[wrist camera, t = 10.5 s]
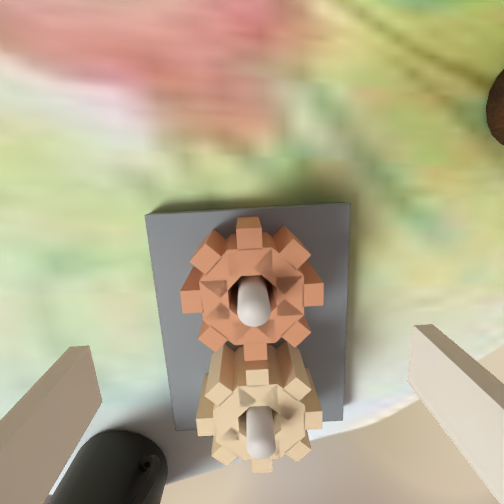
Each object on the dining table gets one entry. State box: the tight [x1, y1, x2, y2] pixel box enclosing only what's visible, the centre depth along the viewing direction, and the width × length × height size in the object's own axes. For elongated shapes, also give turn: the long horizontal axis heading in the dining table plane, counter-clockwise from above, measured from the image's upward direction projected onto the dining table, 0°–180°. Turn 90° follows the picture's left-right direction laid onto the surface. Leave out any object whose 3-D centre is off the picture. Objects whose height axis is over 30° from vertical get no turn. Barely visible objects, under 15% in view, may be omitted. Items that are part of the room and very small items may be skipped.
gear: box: [180, 216, 324, 361], centre depth 22 cm, size 9×9×5 cm
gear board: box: [145, 202, 351, 473], centre depth 23 cm, size 21×16×8 cm
